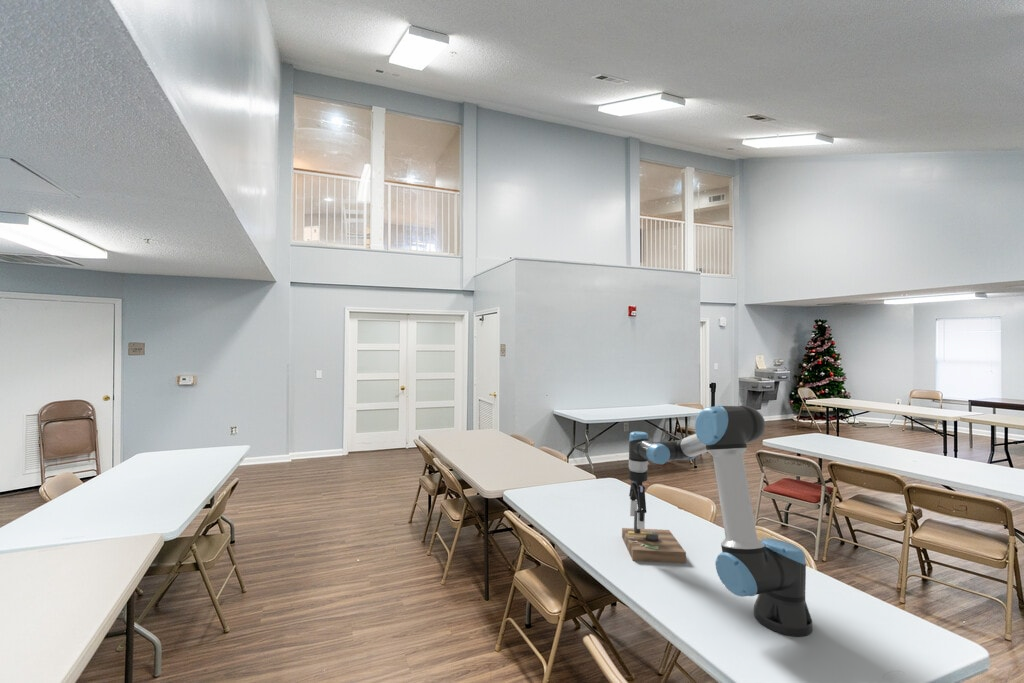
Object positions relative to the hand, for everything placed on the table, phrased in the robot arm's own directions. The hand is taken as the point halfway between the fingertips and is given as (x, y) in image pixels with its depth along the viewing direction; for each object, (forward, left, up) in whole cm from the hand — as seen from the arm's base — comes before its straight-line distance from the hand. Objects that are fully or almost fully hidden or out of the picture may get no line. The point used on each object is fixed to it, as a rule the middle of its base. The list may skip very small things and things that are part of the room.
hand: (636, 522), depth 186 cm
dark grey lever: (0, -3, -6) cm, 7 cm away
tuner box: (0, -6, -11) cm, 12 cm away
